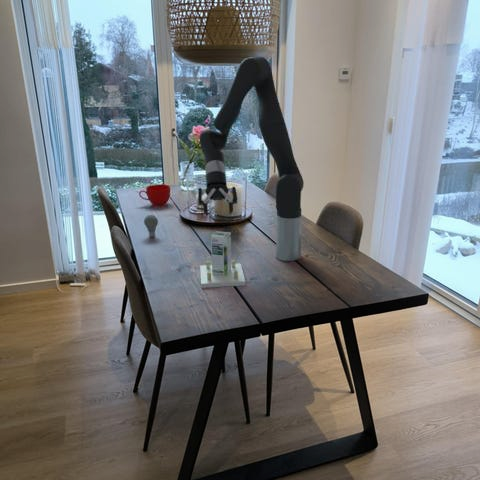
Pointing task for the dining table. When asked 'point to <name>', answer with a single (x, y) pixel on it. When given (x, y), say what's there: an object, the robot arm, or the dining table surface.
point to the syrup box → (221, 252)
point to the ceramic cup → (157, 194)
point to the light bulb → (151, 224)
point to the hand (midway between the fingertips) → (218, 213)
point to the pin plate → (221, 276)
